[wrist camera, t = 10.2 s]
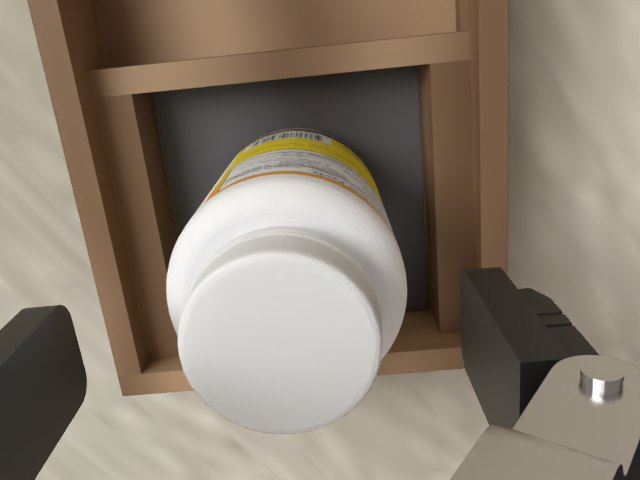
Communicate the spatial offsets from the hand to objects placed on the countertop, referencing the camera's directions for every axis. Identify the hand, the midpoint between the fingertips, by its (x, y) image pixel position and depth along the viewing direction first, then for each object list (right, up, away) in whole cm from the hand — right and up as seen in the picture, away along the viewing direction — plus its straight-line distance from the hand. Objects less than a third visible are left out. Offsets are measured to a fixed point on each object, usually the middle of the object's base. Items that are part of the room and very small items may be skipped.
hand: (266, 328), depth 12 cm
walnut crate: (0, +6, +9) cm, 11 cm away
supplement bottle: (0, +3, +9) cm, 10 cm away
